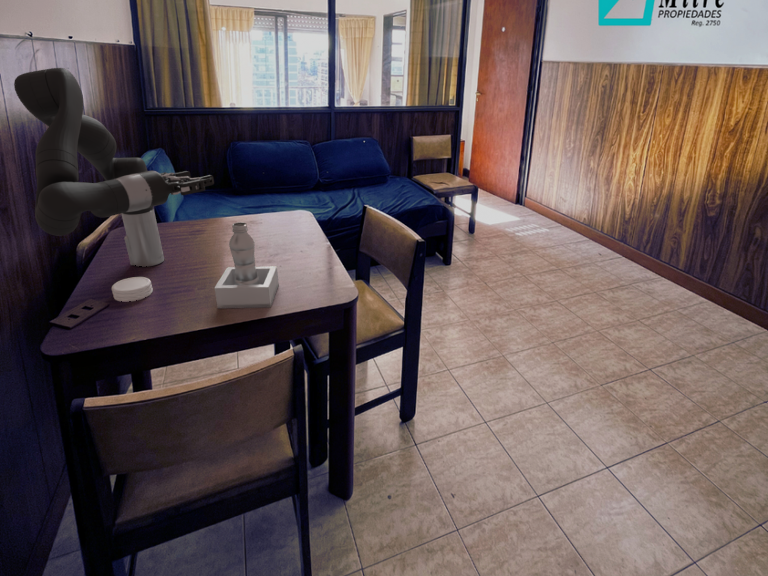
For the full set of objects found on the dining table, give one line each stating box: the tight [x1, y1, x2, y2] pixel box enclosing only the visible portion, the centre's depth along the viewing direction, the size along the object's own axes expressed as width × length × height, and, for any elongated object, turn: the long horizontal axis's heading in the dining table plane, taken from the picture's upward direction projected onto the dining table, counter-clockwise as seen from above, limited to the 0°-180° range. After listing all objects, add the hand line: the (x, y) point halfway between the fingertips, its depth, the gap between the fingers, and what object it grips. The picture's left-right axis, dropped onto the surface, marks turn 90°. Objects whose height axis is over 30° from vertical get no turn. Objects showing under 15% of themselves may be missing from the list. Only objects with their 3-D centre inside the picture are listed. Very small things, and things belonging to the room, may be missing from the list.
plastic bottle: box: [228, 221, 260, 285], centre depth 130 cm, size 6×7×20 cm
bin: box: [213, 265, 280, 309], centre depth 133 cm, size 14×14×6 cm
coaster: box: [111, 276, 153, 303], centre depth 135 cm, size 10×10×4 cm
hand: (201, 177), depth 117 cm, fingers open, 8 cm apart
